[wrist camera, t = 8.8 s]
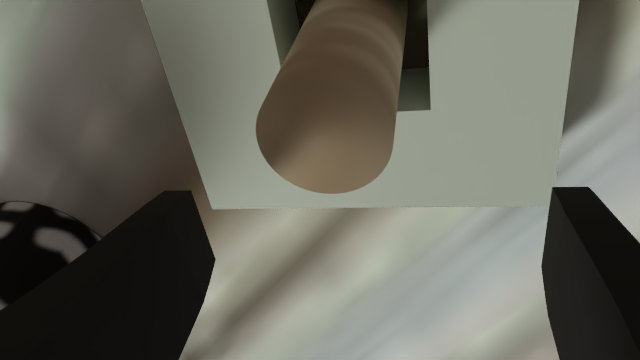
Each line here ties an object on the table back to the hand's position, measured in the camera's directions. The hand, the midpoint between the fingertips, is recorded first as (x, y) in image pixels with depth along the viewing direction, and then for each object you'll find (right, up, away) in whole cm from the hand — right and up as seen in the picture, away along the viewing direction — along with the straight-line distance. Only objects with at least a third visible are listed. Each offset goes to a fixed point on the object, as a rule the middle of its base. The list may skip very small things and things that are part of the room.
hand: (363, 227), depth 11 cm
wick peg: (+1, +7, +7) cm, 10 cm away
